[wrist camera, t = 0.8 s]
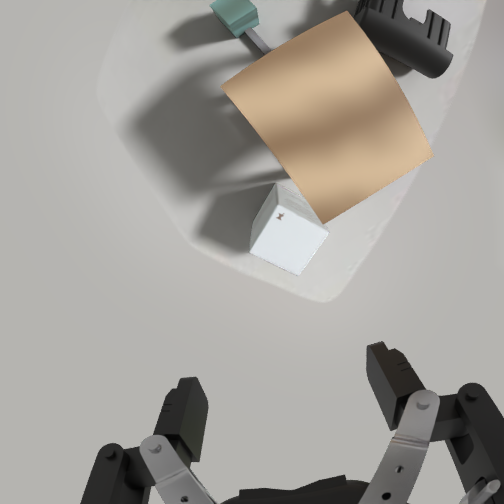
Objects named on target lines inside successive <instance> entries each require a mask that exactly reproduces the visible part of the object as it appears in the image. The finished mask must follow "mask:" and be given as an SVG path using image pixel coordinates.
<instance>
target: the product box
mask: <svg viewBox="0 0 504 504" xmlns="http://www.w3.org/2000/svg"><path fill="white" fill-rule="evenodd" d="M329 233H330V232H329V230H328V227H327V225H326V223H325V224H322V223H321V221H320V220H319V218H318V217H317V215H316V214H315V212H314V211H313V209H312V208H311V206H310V205H309V203H308V202H307V200H306V199H305V198H304V197H302V196H301V195H299V194H297V193H295V192H293V191H291V190H289V189H287V188H285V187H283V186H281V185H279V184H277V183H275V185H274V186H273V188H272V190H271V191H270V193H269V195H268V196H267V198H266V200H265V202H264V203H263V205H262V207H261V209H260V210H259V212H258V214H257V216H256V217H255V219H254V221H253V223H252V230H251V238H250V246H249V253H250V254H252V255H255V256H257V257H259V258H261V259H263V260H265V261H267V262H269V263H271V264H273V265H276V266H278V267H280V268H282V269H284V270H286V271H288V272H290V273H292V274H294V275H296V276H299V274H300V273H301V272H302V270H303V269H304V268H305V266H306V265H307V263H308V262H309V261H310V259H311V258H312V256H313V255H314V254H315V252H316V251H317V249H318V248H319V247H320V245H321V244H322V242H323V241H324V240H325V238H326V237H327V236H328V234H329Z"/></svg>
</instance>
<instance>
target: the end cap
mask: <svg viewBox="0 0 504 504" xmlns="http://www.w3.org/2000/svg"><path fill="white" fill-rule="evenodd" d="M403 1H404V0H360V1H359V2H358V6H357V10H356V13H355V17H354V18H353V19H354V20H355V21H356V22H357V24H358V25H359V26H360V28H361V29H362V30H363V32H364V33H365V34H366V36H367V37H368V38H369V40H370V41H371V43H372V44H373V45H374V47H375V48H376V50H377V51H379V52H381V53H383V54H386V55H388V56H390V57H392V58H394V59H396V60H398V61H400V62H402V63H403V64H405V65H407V66H409V67H411V68H413V69H415V70H416V71H418V72H420V73H422V74H423V75H425V76H427V77H429V78H437V77H439V76H441V75H442V74H443V73H444V72H445V71H446V70H447V68H448V67H449V65H450V63H451V60H452V57H453V54H452V53H450V52H449V51H447V50H446V47H447V42H448V37H449V31H450V25H451V24H450V23H449V22H448V21H447V20H445V19H444V18H442V17H441V16H439V15H438V14H436V13H434V12H433V11H431V10H430V9H429V10H427V15H426V20H425V22H424V24H422V23H420V22H419V21H417V20H415V19H413V18H412V17H411V18H410V20H409V19H408V18H407V17H406V16H405V14H404V12H403V8H402V6H403Z"/></svg>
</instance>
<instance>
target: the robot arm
mask: <svg viewBox="0 0 504 504" xmlns="http://www.w3.org/2000/svg"><path fill="white" fill-rule="evenodd" d="M366 365H367V366H366V371H367V377H368V380H369V383H370V385H371V387H372V389H373V392H374V394H375V396H376V398H377V401H378V403H379V405H380V408H381V410H382V412H383V415H384V417H385V419H386V422H387V424H388V427H389V429H390V431H392V430H395V429H397V431H396V433H395V436H394V437H393V438H392V439H391V441H390V444H389V446H388V448H387V450H386V452H385V454H384V457H383V459H382V461H381V463H380V465H379V467H378V469H377V471H376V473H375V475H374V477H373V479H372V480H371V482H370V483H368V482H364V481H358V480H346V477H345V475H341V476H337V477H332V478H328V479H323V480H318V481H316V482H314V483H311V484H309V485H306V486H303V487H300V488H298V489H295V490H280V489H269V488H259V489H243V490H240V491H239V496H236V497H233V498H231V499H228V500H226V501H224V502H223V503H221V504H409V503H407V500H408V498H409V496H410V494H411V491H412V489H413V487H414V484H415V482H416V480H417V477H418V475H419V472H420V469H421V467H422V464H423V461H424V458H425V456H426V453H427V449H428V446H429V442H435V441H442V440H445V442H446V444H447V447H448V449H449V452H450V454H451V456H452V459H453V461H454V464H455V466H456V469H457V471H458V474H459V476H460V479H461V482H462V484H463V487H464V490H465V492H466V495H465V496H464V497H463V498H462V499H461V501H460V503H459V504H504V418H503V416H502V414H501V413H500V411H499V410H498V408H497V406H496V405H495V403H494V402H493V400H492V399H491V397H490V396H489V394H488V393H487V391H486V390H485V389H484V387H482V386H481V385H480V384H477V383H468V384H465V385H463V386H462V387H461V388H460V389H459V391H458V394H452V395H445V396H438V395H437V394H436V393H435V392H433V391H430V390H426V388H425V387H424V385H423V384H422V382H421V381H420V379H419V377H418V376H417V374H416V373H415V371H414V370H413V368H412V367H411V365H410V363H409V362H408V361H407V359H406V357H405V356H404V354H403V353H401V352H400V351H398V350H396V349H395V348H394V349H391V350H388V349H387V347H386V345H385V344H384V342H383V341H381V342H378V343H374V344H371V345H368V346H367V362H366ZM207 413H208V401H207V397H206V396H205V393H204V391H203V389H202V387H201V385H200V382H199V381H198V378H197V377H187V378H181V379H180V380H179V383H178V386H177V388H176V389H172V390H171V391H170V392H169V393H168V394H167V396H166V397H165V400H164V403H163V406H162V409H161V412H160V415H159V418H158V421H157V424H156V427H155V430H154V433H153V435H152V436H149V437H147V438H146V439H144V440H143V442H142V443H141V445H140V446H139V447H134V448H129V449H123V448H122V447H121V446H120V445H118V444H116V443H110V444H107V445H105V446H103V447H102V448H101V449H100V451H99V452H98V455H97V457H96V460H95V463H94V466H93V468H92V471H91V474H90V477H89V480H88V482H87V485H86V488H85V491H84V494H83V497H82V500H81V503H80V504H148V501H149V495H150V490H151V486H155V487H156V489H157V491H158V493H159V494H160V496H161V498H162V500H163V501H164V503H165V504H218V503H217V502H216V501H215V499H214V498H213V497H212V496H211V495H210V494H209V492H208V491H207V490H206V489H205V487H204V486H203V485H202V483H201V482H200V481H199V480H198V478H197V477H196V476H195V474H194V473H193V472H192V470H191V469H190V465H191V462H199V461H200V455H201V449H202V443H203V436H204V431H205V425H206V420H207Z"/></svg>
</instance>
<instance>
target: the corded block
mask: <svg viewBox="0 0 504 504" xmlns="http://www.w3.org/2000/svg"><path fill="white" fill-rule="evenodd" d="M210 7H211V8H212V9H213V11H214V12H215V14H216V15H217V17H218V18H219V20H220V21H221V22H222V23H223V24H224V25H225V26H226V27H227V28H228V29H229V30H230V32H231V33H232V34H233V35H234V36H235V37H236V38H238V37H240V36H241V35H243V34H244V33H246V34H247V35H248V37H249V38H250V39H251V40H252V41H253V42H254V43H255V44H256V46H257V47H258V48H259V49H260V50H261V51H262V52H263V54H264V55H266V54H268V53H269V52H271V50H270V48H269V47H268V46H267V45H266V44H265V43H264V42H263V40H262V39H261V38H260V37H259V36H258V35H257V34H256V33H255V31H254V30H253V29H252V28H254V27H255V26H257V25H258V24H259V19H258V13H257V8H256V7H255V6H254V5H253V4H252V3H251V2H250V1H249V0H216V1H215V2H213V3H212V4H210Z"/></svg>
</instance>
